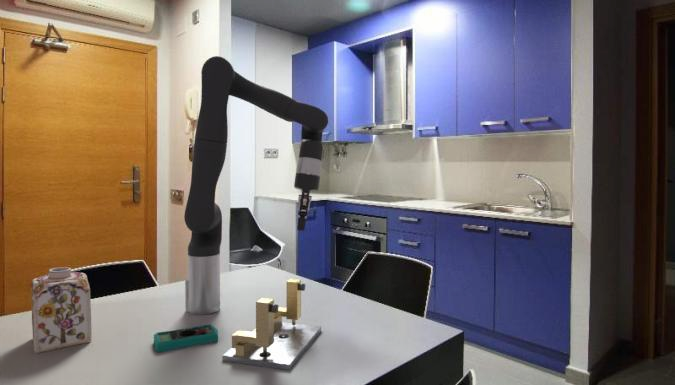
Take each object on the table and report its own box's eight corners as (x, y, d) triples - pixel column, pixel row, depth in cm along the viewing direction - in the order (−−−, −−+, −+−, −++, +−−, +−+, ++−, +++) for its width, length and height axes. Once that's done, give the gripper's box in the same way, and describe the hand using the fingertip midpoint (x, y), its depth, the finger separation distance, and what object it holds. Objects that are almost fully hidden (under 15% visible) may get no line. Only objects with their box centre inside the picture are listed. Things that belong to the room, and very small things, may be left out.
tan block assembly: (229, 355, 95) (229, 300, 94) (270, 321, 116) (270, 277, 115) (272, 361, 92) (272, 305, 92) (305, 325, 113) (306, 279, 113)
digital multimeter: (220, 343, 106) (220, 331, 106) (156, 354, 99) (155, 342, 98) (213, 333, 112) (213, 322, 112) (152, 343, 105) (152, 332, 105)
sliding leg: (266, 323, 113) (266, 279, 113) (270, 320, 116) (270, 277, 115) (302, 327, 110) (302, 282, 110) (305, 323, 113) (306, 279, 113)
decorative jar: (32, 338, 107) (30, 267, 106) (85, 328, 114) (84, 261, 113) (34, 355, 97) (31, 277, 96) (92, 342, 104) (90, 270, 103)
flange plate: (222, 360, 95) (222, 355, 95) (265, 324, 117) (265, 320, 117) (289, 370, 91) (289, 364, 91) (321, 331, 113) (321, 326, 113)
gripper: (295, 175, 136) (288, 229, 134) (296, 169, 123) (287, 228, 121) (318, 178, 137) (311, 232, 135) (321, 172, 123) (314, 232, 122)
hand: (300, 230), depth 128 cm, fingers closed
